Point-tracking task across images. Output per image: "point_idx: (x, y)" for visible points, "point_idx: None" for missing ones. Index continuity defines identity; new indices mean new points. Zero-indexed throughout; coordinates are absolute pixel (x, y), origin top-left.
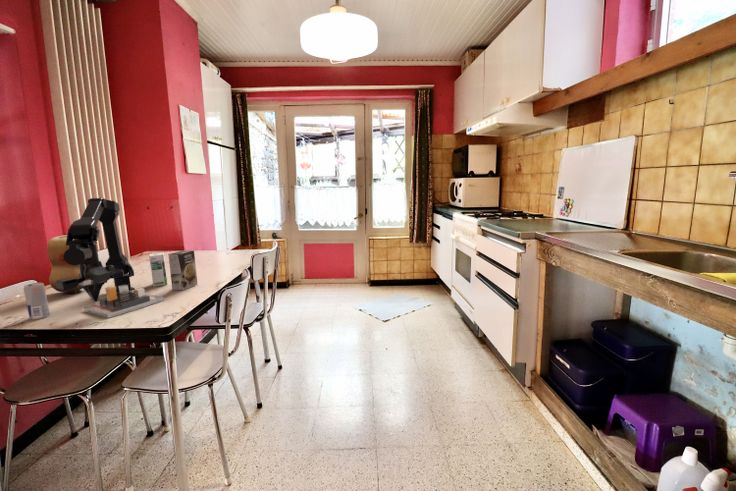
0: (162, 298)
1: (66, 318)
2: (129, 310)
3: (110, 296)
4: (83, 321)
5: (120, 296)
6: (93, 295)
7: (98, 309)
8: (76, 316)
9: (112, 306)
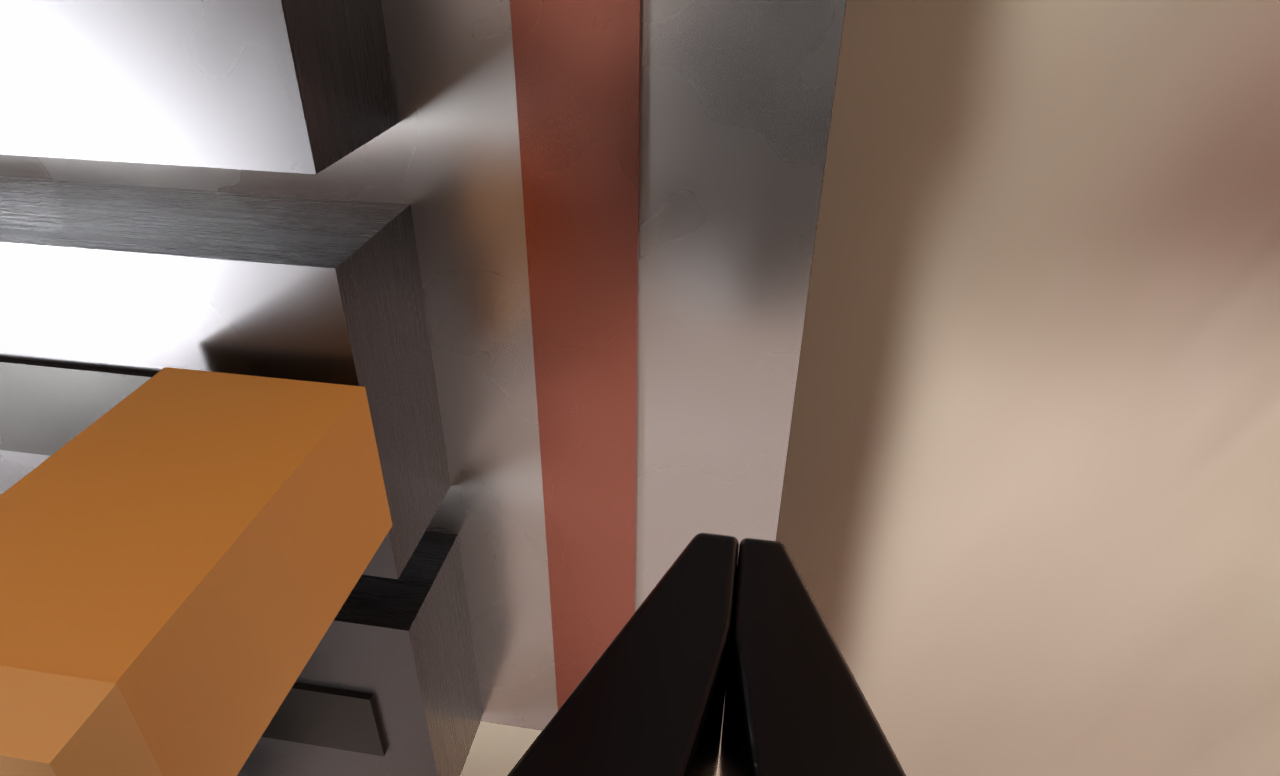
0: None
1: (1137, 654)
2: None
3: (261, 476)
4: (1277, 134)
5: None
6: (835, 749)
7: (706, 402)
8: (1000, 592)
9: (417, 275)
